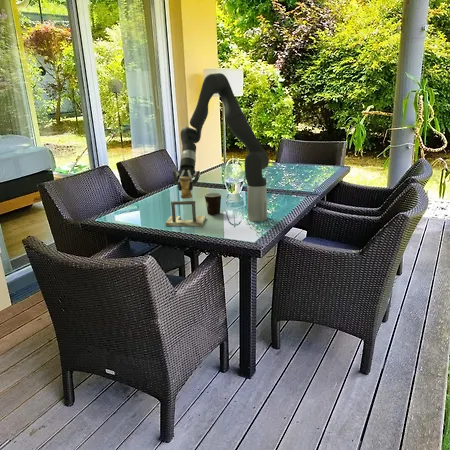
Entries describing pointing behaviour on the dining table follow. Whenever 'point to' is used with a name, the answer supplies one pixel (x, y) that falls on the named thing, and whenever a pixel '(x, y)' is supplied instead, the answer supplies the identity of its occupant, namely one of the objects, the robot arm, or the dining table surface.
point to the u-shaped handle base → (176, 220)
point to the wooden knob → (185, 187)
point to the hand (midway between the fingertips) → (185, 189)
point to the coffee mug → (213, 203)
